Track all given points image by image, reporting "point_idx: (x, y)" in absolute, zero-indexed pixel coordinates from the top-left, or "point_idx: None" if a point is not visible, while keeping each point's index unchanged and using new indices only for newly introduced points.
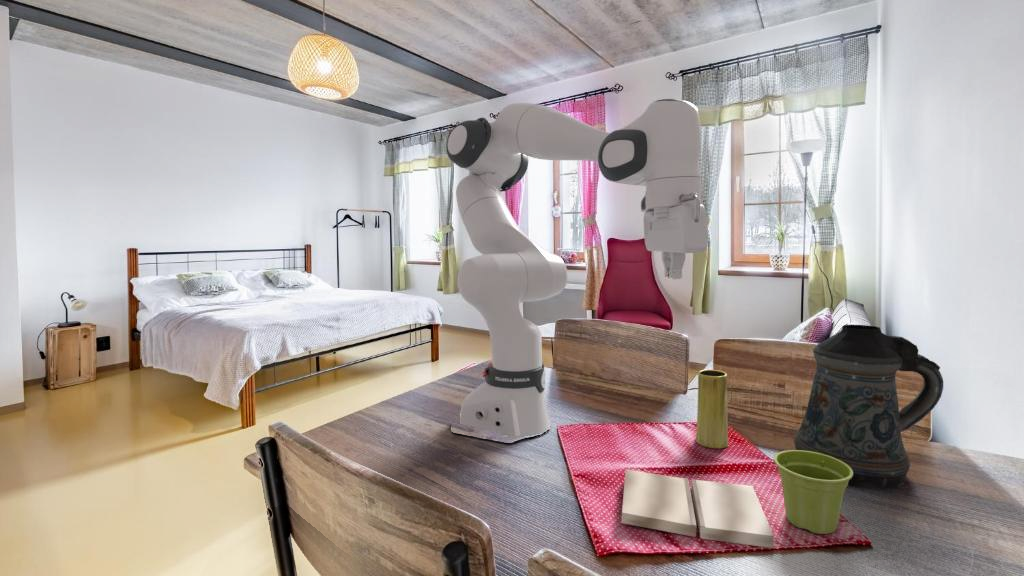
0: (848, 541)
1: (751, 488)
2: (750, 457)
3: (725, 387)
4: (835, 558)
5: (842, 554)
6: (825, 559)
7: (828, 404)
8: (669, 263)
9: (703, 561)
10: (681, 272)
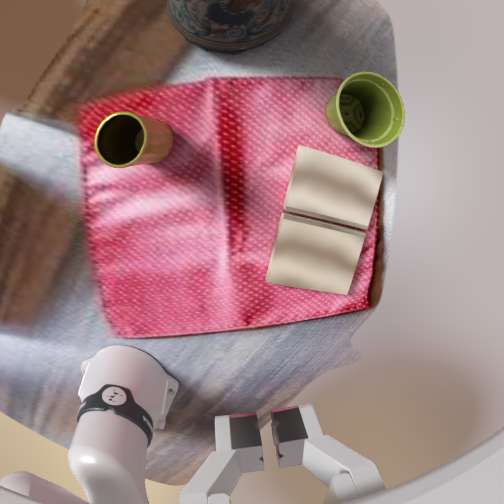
0: None
1: (307, 149)
2: (200, 104)
3: (146, 120)
4: None
5: None
6: None
7: (260, 1)
8: (230, 482)
9: (385, 233)
10: (318, 421)
